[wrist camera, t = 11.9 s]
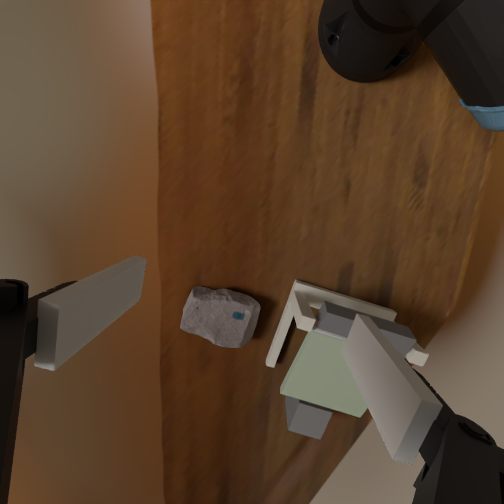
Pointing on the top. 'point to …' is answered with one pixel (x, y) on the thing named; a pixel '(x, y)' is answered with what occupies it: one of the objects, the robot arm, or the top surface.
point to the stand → (314, 297)
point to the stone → (220, 316)
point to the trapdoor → (335, 360)
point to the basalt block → (306, 417)
